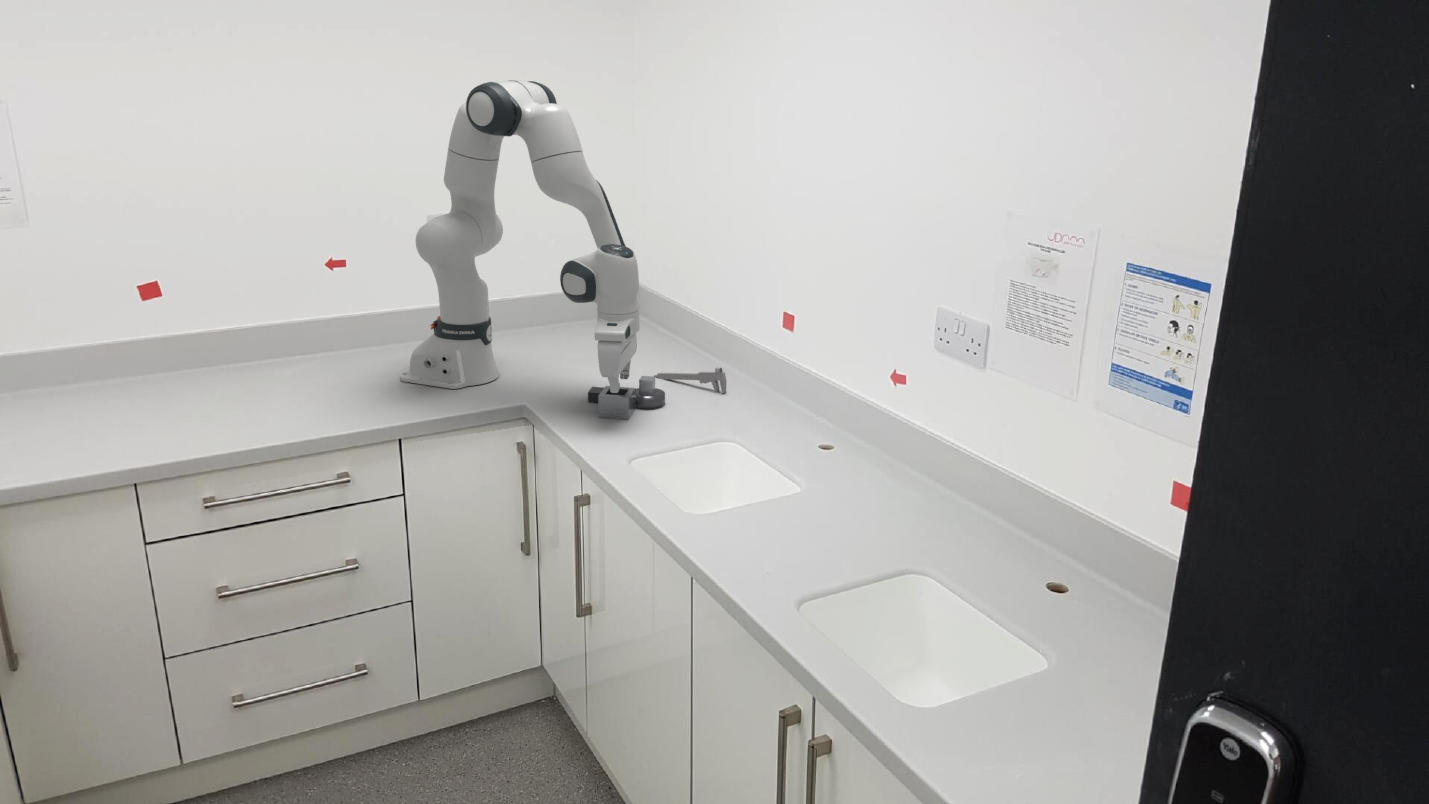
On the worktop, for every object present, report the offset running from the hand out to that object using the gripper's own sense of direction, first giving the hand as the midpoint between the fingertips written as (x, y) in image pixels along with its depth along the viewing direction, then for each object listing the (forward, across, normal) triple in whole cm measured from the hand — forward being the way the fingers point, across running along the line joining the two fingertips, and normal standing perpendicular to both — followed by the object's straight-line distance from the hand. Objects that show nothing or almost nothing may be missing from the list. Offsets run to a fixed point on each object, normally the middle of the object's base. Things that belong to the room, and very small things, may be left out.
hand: (620, 385), depth 235 cm
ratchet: (+7, -8, 0) cm, 10 cm away
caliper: (+7, -23, +11) cm, 26 cm away
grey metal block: (+7, 0, -1) cm, 7 cm away
